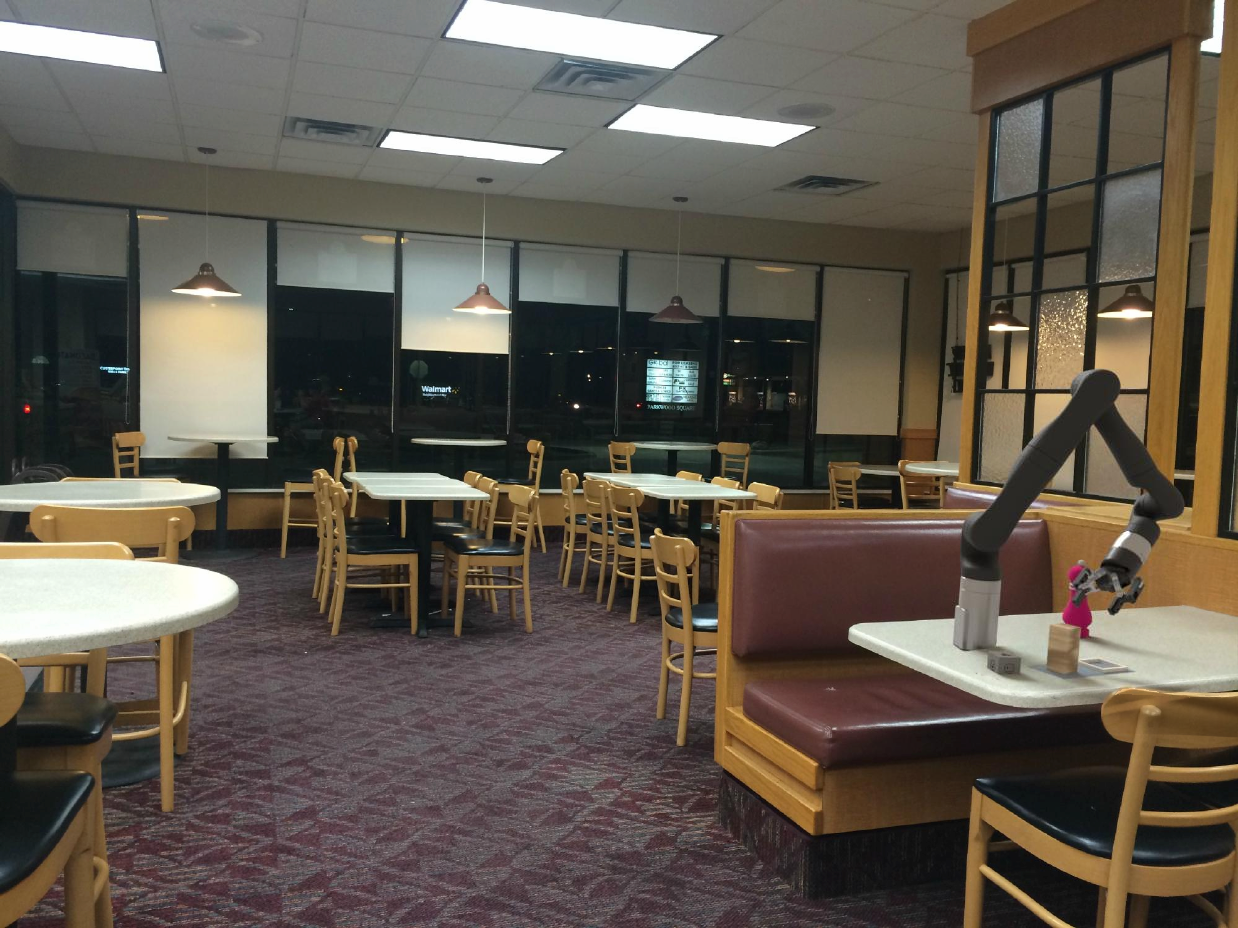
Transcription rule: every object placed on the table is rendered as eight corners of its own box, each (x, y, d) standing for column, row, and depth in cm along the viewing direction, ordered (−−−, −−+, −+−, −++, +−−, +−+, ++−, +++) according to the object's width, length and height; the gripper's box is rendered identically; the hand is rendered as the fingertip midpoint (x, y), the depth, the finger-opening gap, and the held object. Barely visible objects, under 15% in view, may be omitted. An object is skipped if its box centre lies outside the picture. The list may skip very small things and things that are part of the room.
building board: (1063, 684, 206) (1064, 674, 206) (1026, 671, 215) (1027, 662, 215) (1134, 676, 215) (1135, 667, 214) (1096, 664, 224) (1097, 656, 224)
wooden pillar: (1064, 674, 209) (1068, 629, 208) (1046, 668, 213) (1049, 624, 212) (1077, 672, 211) (1080, 627, 211) (1058, 666, 215) (1062, 622, 215)
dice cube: (997, 679, 207) (999, 657, 207) (986, 673, 212) (988, 650, 212) (1019, 680, 207) (1021, 657, 207) (1008, 673, 212) (1009, 651, 212)
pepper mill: (1087, 639, 249) (1094, 563, 247) (1057, 634, 253) (1063, 559, 252) (1093, 634, 255) (1099, 560, 253) (1064, 629, 259) (1070, 556, 258)
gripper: (1091, 540, 226) (1057, 591, 221) (1151, 550, 214) (1116, 604, 209) (1103, 561, 229) (1069, 612, 224) (1162, 572, 217) (1128, 626, 212)
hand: (1092, 608), depth 216 cm, fingers open, 8 cm apart
